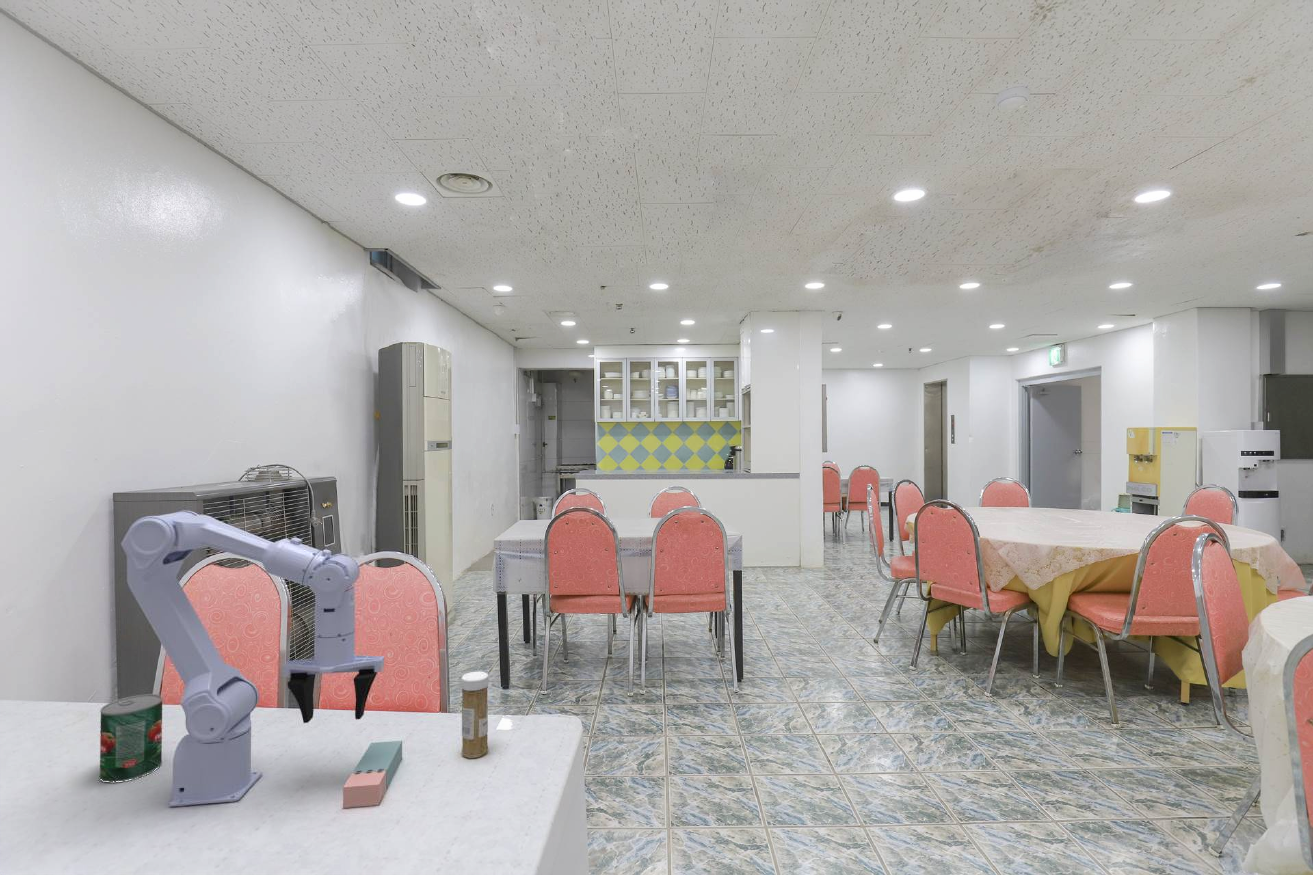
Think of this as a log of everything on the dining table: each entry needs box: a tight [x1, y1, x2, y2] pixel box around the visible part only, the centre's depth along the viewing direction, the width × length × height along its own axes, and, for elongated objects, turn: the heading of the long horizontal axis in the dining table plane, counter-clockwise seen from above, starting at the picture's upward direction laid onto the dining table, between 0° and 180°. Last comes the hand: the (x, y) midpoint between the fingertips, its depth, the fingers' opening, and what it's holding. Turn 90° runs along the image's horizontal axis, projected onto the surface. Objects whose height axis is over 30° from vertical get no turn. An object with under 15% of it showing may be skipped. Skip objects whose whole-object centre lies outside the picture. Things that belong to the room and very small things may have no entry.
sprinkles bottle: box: [460, 671, 490, 759], centre depth 109 cm, size 5×5×14 cm
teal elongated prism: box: [352, 740, 403, 791], centre depth 101 cm, size 5×10×3 cm, turn 9°
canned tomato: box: [99, 693, 164, 782], centre depth 103 cm, size 8×8×11 cm
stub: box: [342, 771, 387, 809], centre depth 94 cm, size 5×4×3 cm
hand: (334, 718), depth 99 cm, fingers open, 7 cm apart
